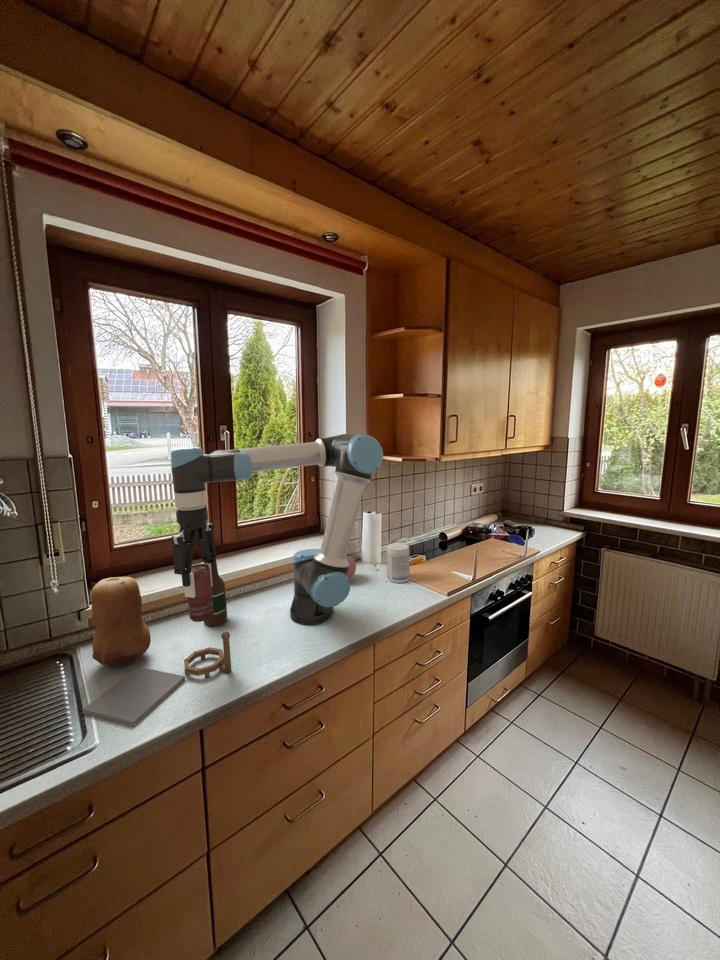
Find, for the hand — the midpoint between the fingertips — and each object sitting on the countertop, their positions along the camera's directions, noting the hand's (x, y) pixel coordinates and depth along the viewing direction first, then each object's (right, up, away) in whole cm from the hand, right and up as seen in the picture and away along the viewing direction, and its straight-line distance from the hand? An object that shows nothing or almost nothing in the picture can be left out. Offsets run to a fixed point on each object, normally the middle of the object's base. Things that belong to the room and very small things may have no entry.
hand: (199, 590), depth 102 cm
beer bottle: (-6, -19, +28) cm, 34 cm away
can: (0, -8, +1) cm, 8 cm away
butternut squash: (-24, -22, +6) cm, 33 cm away
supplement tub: (+60, -13, +60) cm, 86 cm away
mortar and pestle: (+36, -13, +60) cm, 71 cm away
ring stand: (+2, -22, +3) cm, 22 cm away
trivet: (-12, -24, -8) cm, 28 cm away
